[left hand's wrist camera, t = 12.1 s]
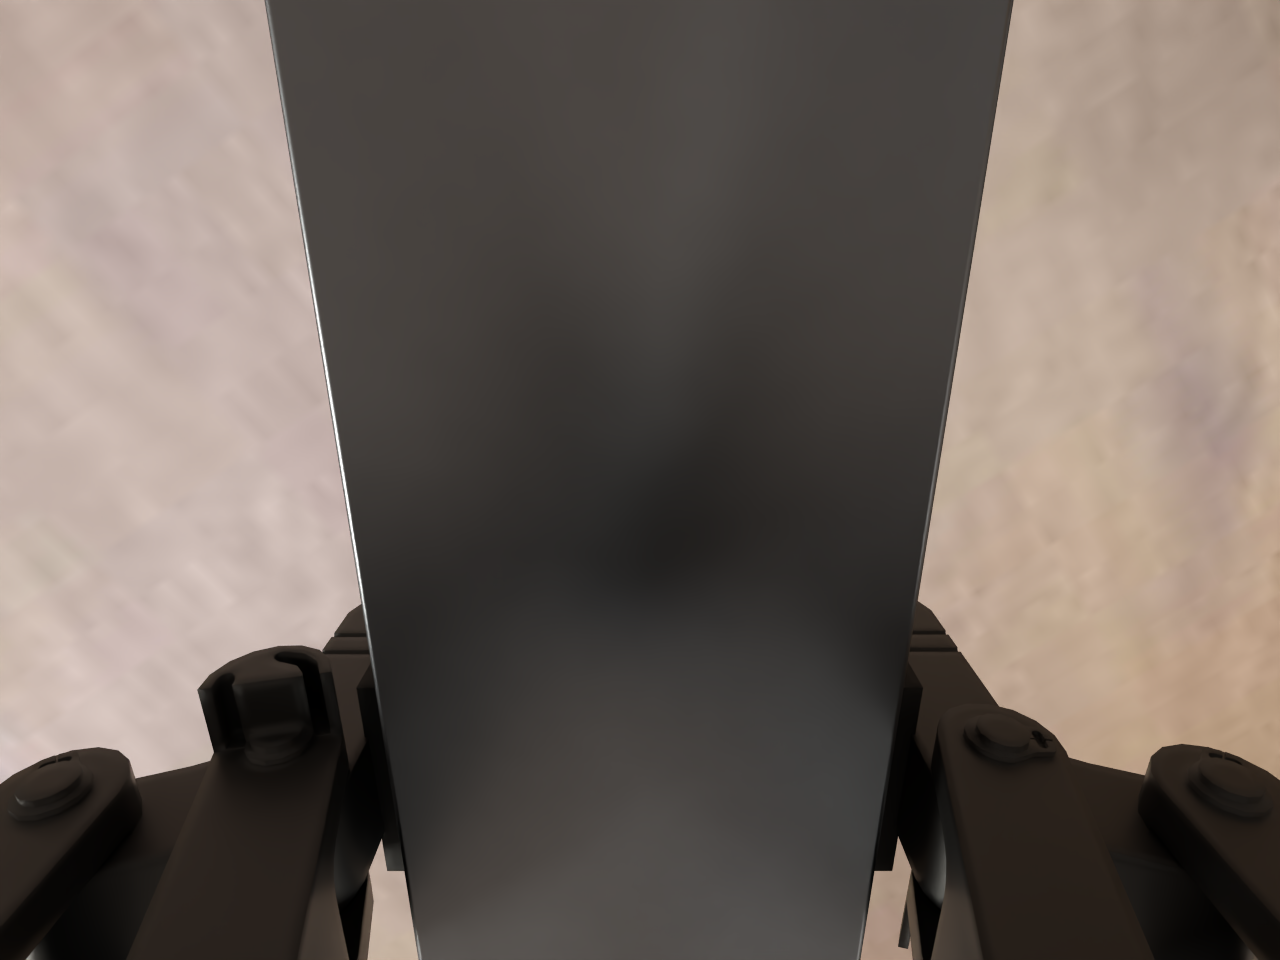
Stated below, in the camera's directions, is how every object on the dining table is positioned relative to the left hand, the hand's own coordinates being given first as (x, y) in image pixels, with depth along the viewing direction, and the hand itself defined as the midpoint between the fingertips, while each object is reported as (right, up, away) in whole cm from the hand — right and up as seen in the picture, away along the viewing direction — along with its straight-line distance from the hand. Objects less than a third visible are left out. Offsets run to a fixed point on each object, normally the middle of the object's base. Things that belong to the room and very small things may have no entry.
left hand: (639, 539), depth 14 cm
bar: (0, +12, -4) cm, 13 cm away
